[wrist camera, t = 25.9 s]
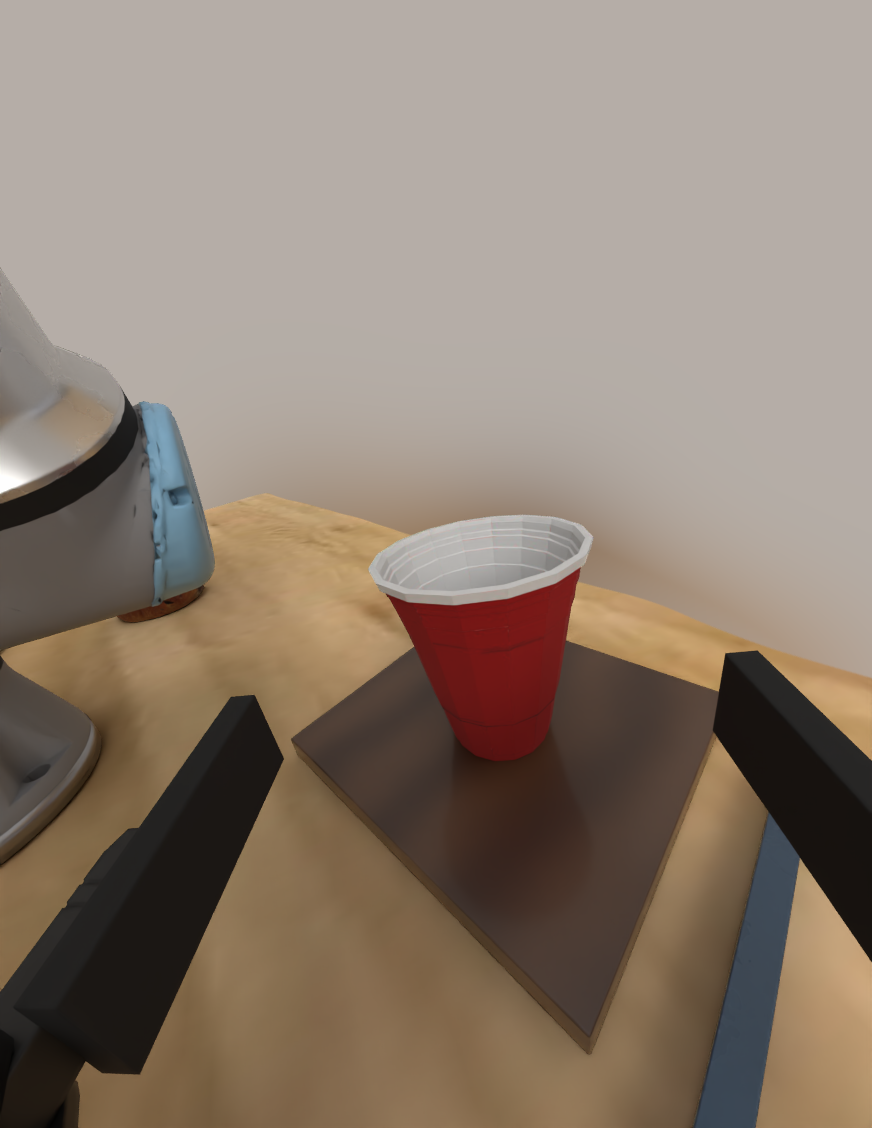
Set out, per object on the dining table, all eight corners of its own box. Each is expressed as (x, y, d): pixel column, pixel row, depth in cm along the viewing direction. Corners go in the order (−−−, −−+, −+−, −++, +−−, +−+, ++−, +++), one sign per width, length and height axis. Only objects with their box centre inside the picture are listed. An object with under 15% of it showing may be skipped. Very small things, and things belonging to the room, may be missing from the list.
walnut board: (297, 754, 27) (290, 738, 26) (469, 620, 38) (466, 606, 37) (589, 1057, 14) (589, 1038, 13) (725, 713, 24) (729, 694, 24)
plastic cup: (550, 648, 30) (541, 490, 25) (634, 774, 20) (646, 558, 15) (406, 680, 30) (367, 526, 25) (421, 827, 20) (362, 620, 15)
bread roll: (180, 607, 60) (137, 565, 58) (226, 574, 57) (182, 528, 54) (128, 649, 51) (75, 602, 49) (179, 612, 48) (124, 560, 45)
